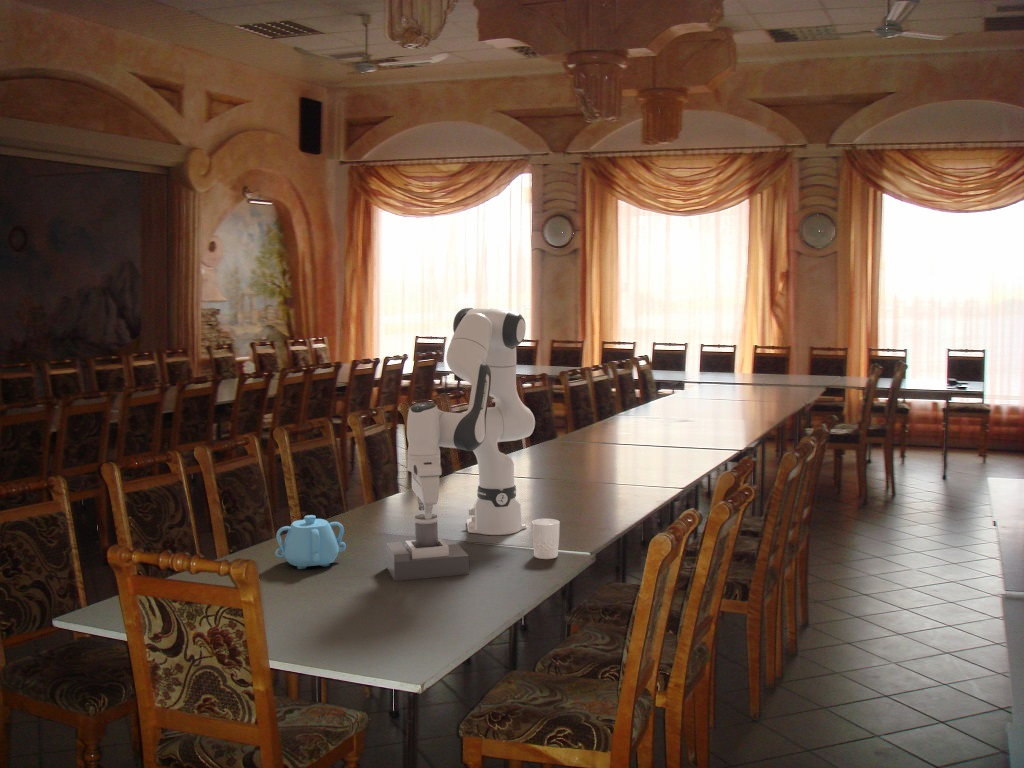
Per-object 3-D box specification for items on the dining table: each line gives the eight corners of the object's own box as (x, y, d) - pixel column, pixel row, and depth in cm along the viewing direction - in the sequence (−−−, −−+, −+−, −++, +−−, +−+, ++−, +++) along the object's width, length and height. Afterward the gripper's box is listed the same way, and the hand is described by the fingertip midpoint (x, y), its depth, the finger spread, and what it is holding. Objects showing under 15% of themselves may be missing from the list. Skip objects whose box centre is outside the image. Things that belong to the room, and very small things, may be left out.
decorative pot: (269, 567, 281) (267, 518, 280) (309, 553, 295) (307, 507, 294) (313, 575, 273) (311, 525, 272) (352, 560, 287) (351, 513, 285)
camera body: (386, 567, 278) (386, 541, 278) (458, 561, 284) (457, 535, 283) (394, 580, 266) (394, 552, 265) (469, 574, 271) (468, 546, 271)
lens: (413, 550, 277) (412, 514, 276) (435, 548, 278) (434, 513, 277) (418, 556, 271) (416, 519, 270) (440, 554, 272) (439, 517, 271)
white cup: (558, 552, 292) (558, 518, 291) (561, 559, 285) (560, 524, 284) (531, 552, 292) (530, 518, 291) (532, 560, 284) (532, 525, 283)
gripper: (405, 457, 281) (406, 505, 283) (418, 471, 262) (419, 524, 263) (428, 455, 283) (428, 504, 285) (442, 470, 263) (443, 522, 265)
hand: (424, 514), depth 274 cm, fingers open, 8 cm apart
